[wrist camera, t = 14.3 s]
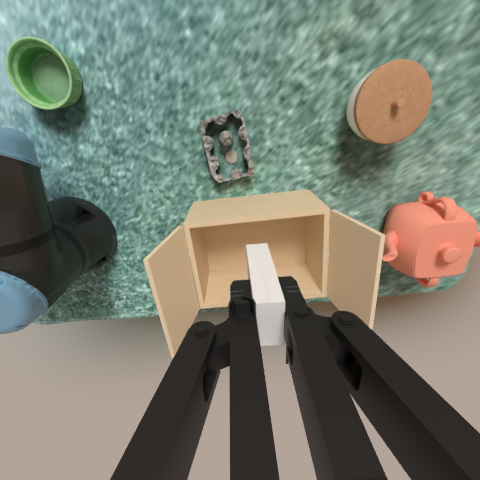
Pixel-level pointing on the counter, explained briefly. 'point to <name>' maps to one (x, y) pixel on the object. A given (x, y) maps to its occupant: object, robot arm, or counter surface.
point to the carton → (257, 241)
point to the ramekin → (43, 74)
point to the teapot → (429, 238)
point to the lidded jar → (390, 102)
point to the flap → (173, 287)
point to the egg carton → (226, 140)
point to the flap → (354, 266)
